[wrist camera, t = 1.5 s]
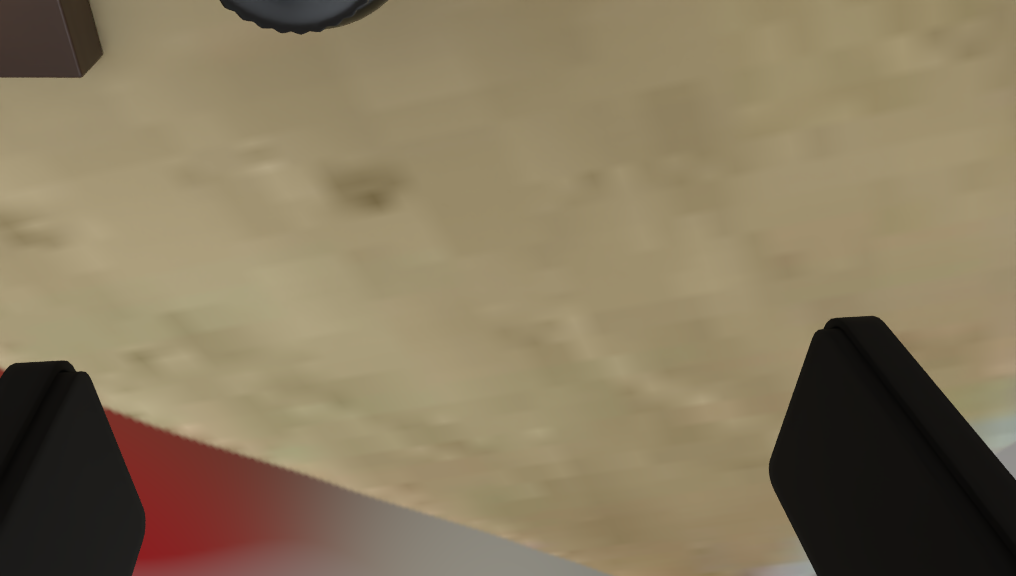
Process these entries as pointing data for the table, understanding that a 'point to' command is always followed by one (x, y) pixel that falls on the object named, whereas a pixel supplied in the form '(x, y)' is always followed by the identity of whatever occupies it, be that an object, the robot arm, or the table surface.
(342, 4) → the supplement bottle
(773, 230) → the table surface
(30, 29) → the walnut board
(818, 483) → the robot arm
